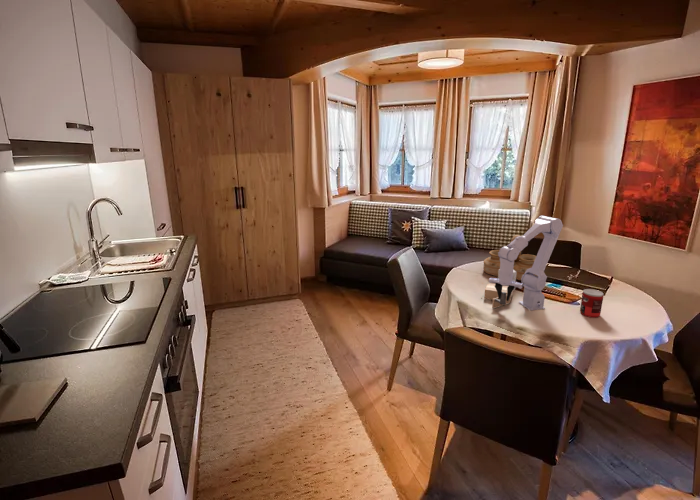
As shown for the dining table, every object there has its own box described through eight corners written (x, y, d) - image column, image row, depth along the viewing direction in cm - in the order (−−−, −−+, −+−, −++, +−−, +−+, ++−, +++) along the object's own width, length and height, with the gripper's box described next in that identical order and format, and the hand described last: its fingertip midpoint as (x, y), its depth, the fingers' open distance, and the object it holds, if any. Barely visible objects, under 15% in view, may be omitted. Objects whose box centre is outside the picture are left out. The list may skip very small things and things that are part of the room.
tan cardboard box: (509, 302, 182) (510, 285, 179) (518, 306, 177) (520, 289, 175) (492, 307, 177) (493, 290, 174) (501, 312, 172) (503, 294, 169)
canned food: (581, 308, 173) (584, 287, 170) (601, 313, 168) (604, 291, 165) (578, 314, 167) (581, 292, 164) (599, 319, 162) (602, 296, 159)
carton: (511, 295, 190) (512, 286, 188) (509, 302, 182) (510, 293, 181) (487, 292, 196) (488, 283, 194) (484, 298, 188) (484, 289, 187)
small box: (511, 286, 202) (513, 268, 199) (515, 290, 196) (516, 272, 193) (496, 286, 203) (498, 268, 200) (499, 290, 197) (501, 272, 194)
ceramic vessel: (477, 274, 223) (480, 234, 216) (488, 266, 236) (491, 228, 229) (538, 286, 201) (543, 243, 194) (546, 276, 215) (551, 235, 208)
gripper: (487, 272, 169) (485, 298, 173) (520, 277, 161) (518, 305, 164) (492, 267, 174) (490, 293, 178) (524, 273, 166) (521, 300, 170)
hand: (503, 299), depth 172 cm, fingers open, 3 cm apart
